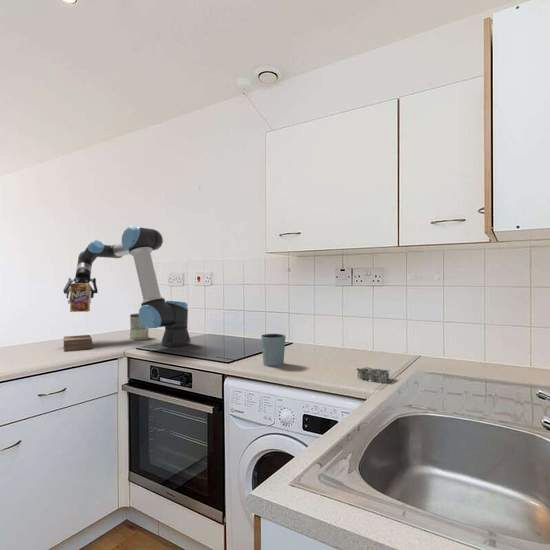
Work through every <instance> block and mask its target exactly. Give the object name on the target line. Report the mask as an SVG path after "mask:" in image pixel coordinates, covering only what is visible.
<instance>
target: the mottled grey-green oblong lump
mask: <svg viewBox="0 0 550 550" xmlns="http://www.w3.org/2000/svg"><path fill="white" fill-rule="evenodd" d="M356 370H357V379H359V378H360V379H364V380H365V379H368V380H367V381H369V380H371V381H370V382H378V383H380V382H382V383H387V380H386V379H389V380H390V371H391V370H390V369H380V368H372V367H370V366H366V367H362V368H359V367H358V368H356ZM360 379H359V380H360ZM373 380H375V381H373Z"/></svg>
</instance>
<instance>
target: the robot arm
mask: <svg viewBox="0 0 550 550" xmlns="http://www.w3.org/2000/svg"><path fill="white" fill-rule="evenodd" d="M163 239H164V238H163V236H162V233H160V231H158V230H156V229H154V228H148V227H147V228H145V227H139V226H133V225H132V226H131V225H130V226H128V227H127V228H125V230H124V231H123V234H122V235H121V243H117V244H113V245H112V244H104V243H103V242H102V241H99V240H97V239H95V240H94V239H93V240H92V241H90V243H89V244H88V245H87V247H86V248H85V250H83V251H81V252H79V255H78V258H77V266H76V269H75V270H76V271H75V277H74V278H71V277H68V281H67V283H66V285H65V286H64V288H63V294H64V295H65V294H66V296H65V297H66V299H67V304H69V305H70V284H71V283H89V284H90V283H92V285H93V287H92V285H90V293H89V304H90V305H91V303H92V302H91V301H92V299H94V296H95V295H94V294H99V292H98V291H99V290H98V286H97V279H96V277H93V278H91V274H92V267H93V263H94V261H96V259H97V258H111V259H121V258H123V257H124V256H128V255H130V256H132V258H133V261H134V265H135V269H136V270H135V271H136V273H137V278H138V283H139V286H140V287H139V288H140V290H141V295H142V299H143V300H142V302H141V303H140V305H141V307H140V308H139V309H138V313H137V314H138V316H139V320H140V322H141V324H142V325H143V326H145V327H146V328H148V329H158V328H163V327H164V332H163V336H162V339H161V346H163V347H170V348H171V347H184V346H185V347H186V346H189V345H191V342H192V341H191V337H190V334H189V330H188V322H189V321H188V318H189V317H188V311H189V309H188V304H187V302H185V301H175V300H165V297H162V296H161V293H160V288H159V283H158V280H157V275H156V271H155V267H154V263H153V257H152V255H151V253H152V252H153V251H157V250H158V249H160V248H161V247H162V245H163V242H164V240H163Z"/></svg>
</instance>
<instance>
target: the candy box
mask: <svg viewBox="0 0 550 550" xmlns="http://www.w3.org/2000/svg"><path fill="white" fill-rule="evenodd" d="M90 286H91V283H90V282H89V283H75V282H72V283H71V284H70V304H69V306H70V307H69V312H70V313H76V312H77V313H79V312H83V313H84V312H86V313H88V312H90V311H91V309H90V308H91V306H90V305H91V303H90V304H89V293H90Z"/></svg>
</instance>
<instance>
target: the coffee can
mask: <svg viewBox="0 0 550 550" xmlns="http://www.w3.org/2000/svg"><path fill="white" fill-rule="evenodd" d="M129 316H130V334H129V335H130V337H129V339H130V340H145V339H146V340H147V339H149V328H146V327H145V326H143V325H142V324H141V322H140V320H139V316H138V313H132V314H130V315H129Z"/></svg>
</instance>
